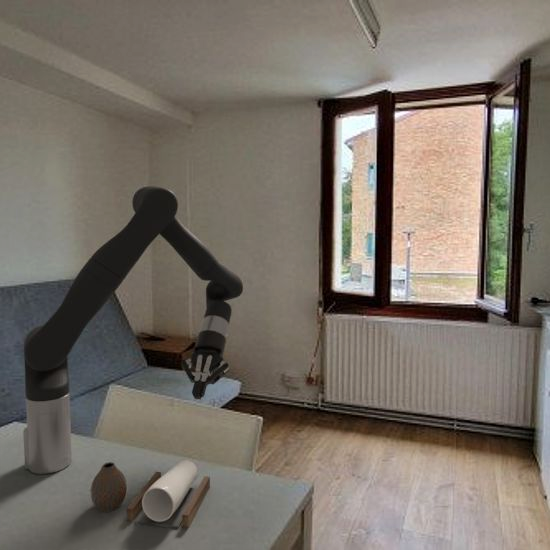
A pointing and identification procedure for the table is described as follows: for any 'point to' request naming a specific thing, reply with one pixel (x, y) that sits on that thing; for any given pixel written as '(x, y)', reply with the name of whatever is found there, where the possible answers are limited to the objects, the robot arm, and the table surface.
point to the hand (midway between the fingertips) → (197, 397)
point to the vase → (108, 488)
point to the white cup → (169, 491)
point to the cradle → (181, 515)
